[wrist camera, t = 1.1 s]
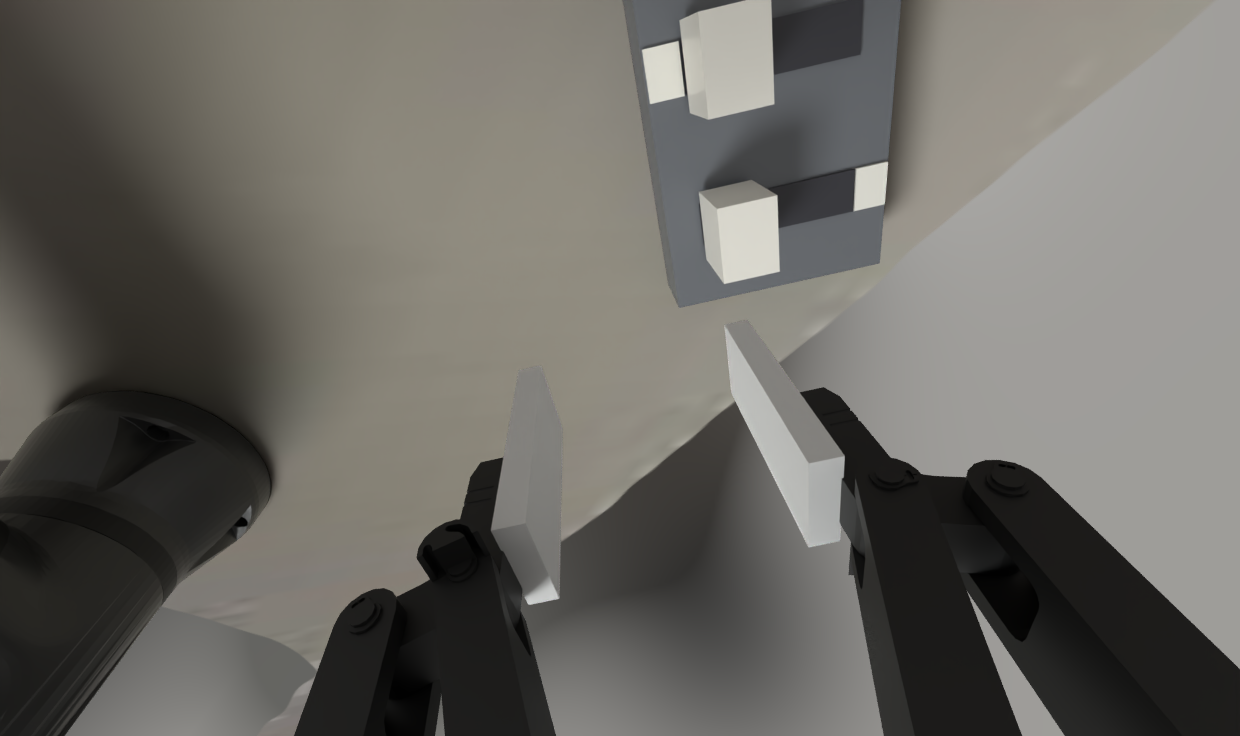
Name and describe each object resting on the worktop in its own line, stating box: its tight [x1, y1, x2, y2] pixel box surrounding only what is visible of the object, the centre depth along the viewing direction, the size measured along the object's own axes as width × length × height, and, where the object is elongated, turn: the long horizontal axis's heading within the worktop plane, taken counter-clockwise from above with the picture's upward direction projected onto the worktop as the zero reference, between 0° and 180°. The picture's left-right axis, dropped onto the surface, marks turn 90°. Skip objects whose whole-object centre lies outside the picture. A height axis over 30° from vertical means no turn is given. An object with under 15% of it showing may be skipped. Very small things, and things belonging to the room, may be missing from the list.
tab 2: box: [699, 180, 780, 284], centre depth 27 cm, size 3×4×4 cm
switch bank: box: [623, 0, 901, 308], centre depth 26 cm, size 13×26×4 cm, turn 11°
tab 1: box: [679, 0, 774, 120], centre depth 23 cm, size 3×4×4 cm
